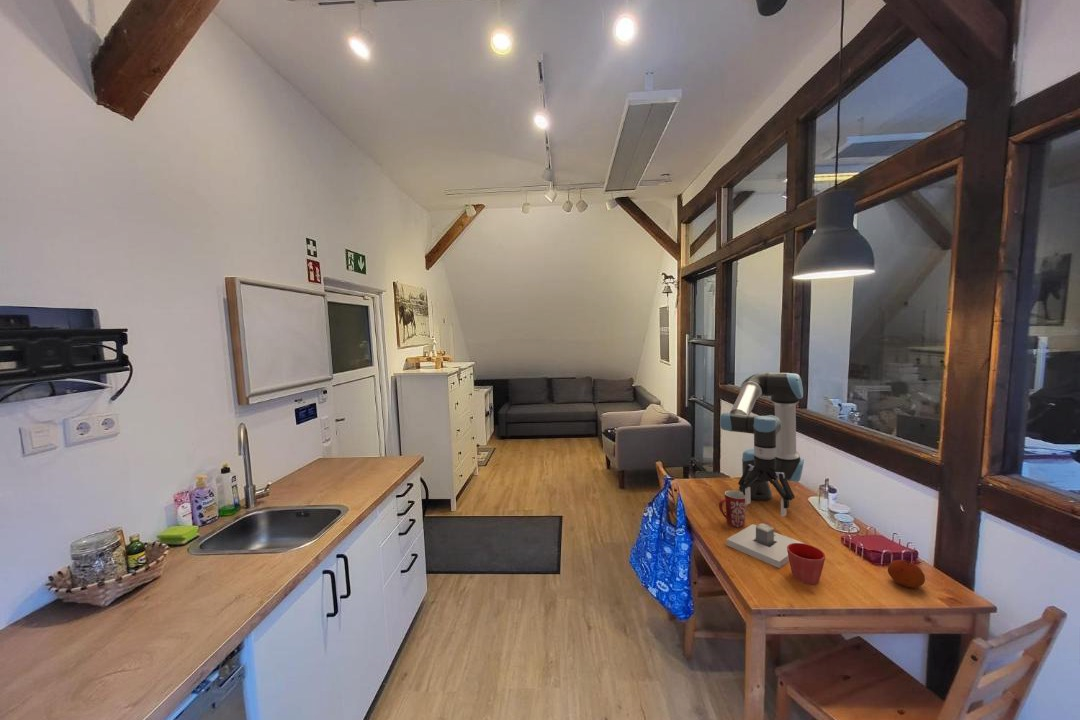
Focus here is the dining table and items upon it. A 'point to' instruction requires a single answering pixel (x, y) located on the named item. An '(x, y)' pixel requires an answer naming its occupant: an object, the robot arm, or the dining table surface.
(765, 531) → the plug
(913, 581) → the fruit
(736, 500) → the mug
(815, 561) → the flower pot
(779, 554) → the socket plate
